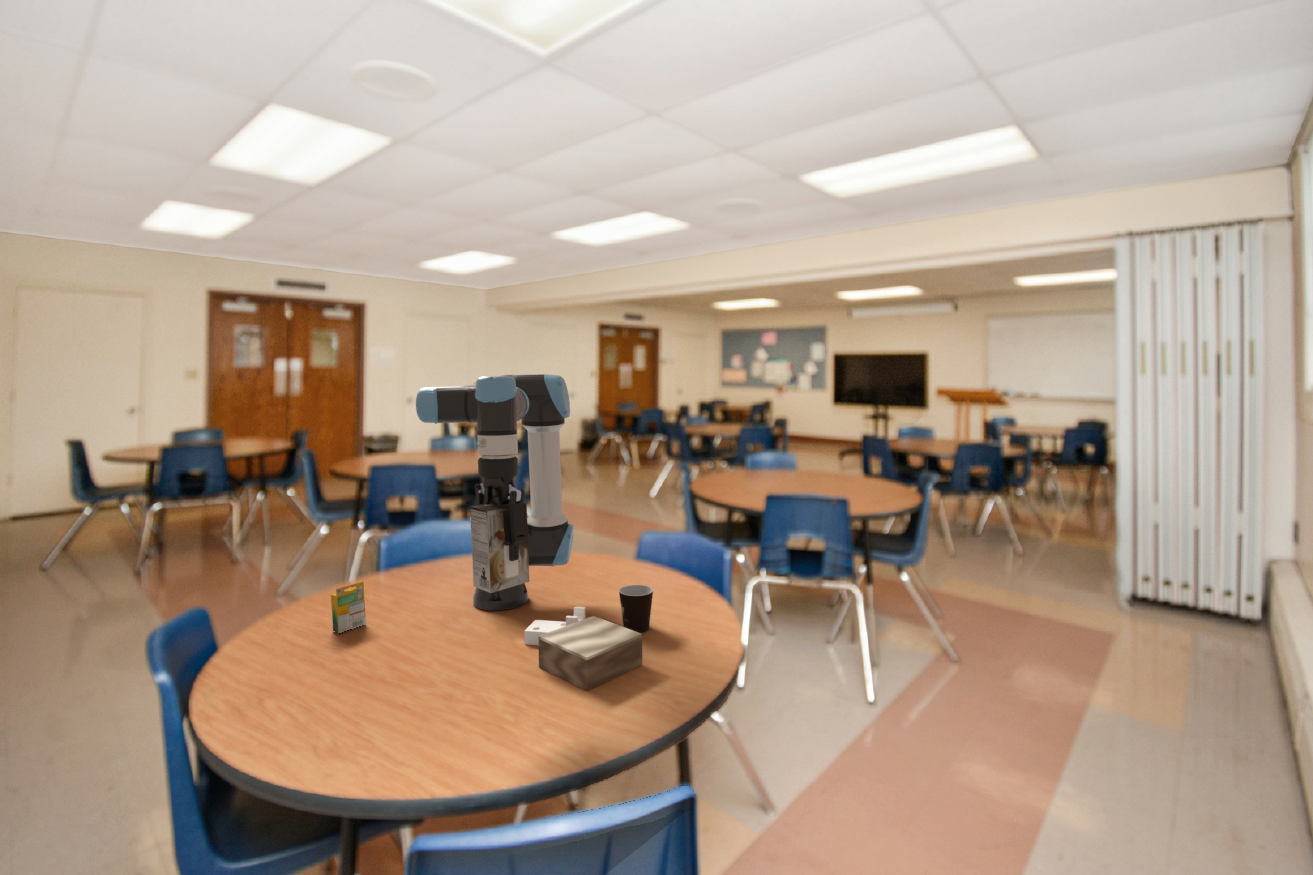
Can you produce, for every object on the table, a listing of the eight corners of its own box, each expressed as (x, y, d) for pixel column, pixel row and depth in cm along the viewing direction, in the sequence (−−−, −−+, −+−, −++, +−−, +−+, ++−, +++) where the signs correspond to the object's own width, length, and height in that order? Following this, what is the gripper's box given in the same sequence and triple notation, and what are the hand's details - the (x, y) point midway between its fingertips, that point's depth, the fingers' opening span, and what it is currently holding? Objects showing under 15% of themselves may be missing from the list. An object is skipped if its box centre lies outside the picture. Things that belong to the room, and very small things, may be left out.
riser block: (538, 667, 136) (538, 636, 135) (593, 644, 147) (593, 615, 147) (587, 690, 125) (586, 657, 124) (642, 664, 137) (641, 633, 136)
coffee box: (511, 575, 128) (509, 498, 126) (530, 582, 123) (528, 502, 122) (471, 586, 121) (469, 505, 119) (490, 594, 117) (487, 510, 115)
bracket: (585, 637, 153) (585, 607, 152) (576, 649, 146) (576, 617, 145) (535, 633, 155) (535, 604, 154) (524, 645, 148) (523, 614, 147)
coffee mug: (649, 636, 152) (649, 596, 151) (615, 633, 154) (615, 594, 153) (658, 619, 163) (658, 582, 162) (627, 616, 165) (626, 580, 164)
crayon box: (360, 622, 162) (358, 579, 161) (366, 625, 160) (364, 581, 159) (332, 631, 156) (329, 586, 155) (338, 634, 154) (336, 589, 153)
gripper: (454, 454, 124) (458, 567, 126) (510, 462, 111) (513, 587, 113) (487, 451, 129) (490, 559, 131) (544, 458, 116) (546, 578, 118)
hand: (501, 572), depth 122 cm, fingers closed on coffee box, 6 cm apart
